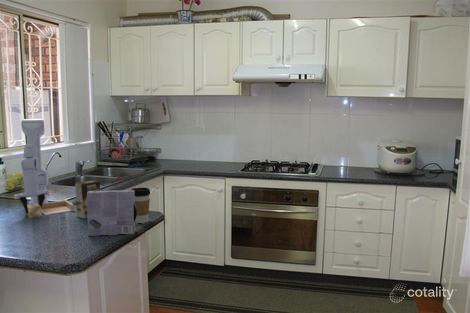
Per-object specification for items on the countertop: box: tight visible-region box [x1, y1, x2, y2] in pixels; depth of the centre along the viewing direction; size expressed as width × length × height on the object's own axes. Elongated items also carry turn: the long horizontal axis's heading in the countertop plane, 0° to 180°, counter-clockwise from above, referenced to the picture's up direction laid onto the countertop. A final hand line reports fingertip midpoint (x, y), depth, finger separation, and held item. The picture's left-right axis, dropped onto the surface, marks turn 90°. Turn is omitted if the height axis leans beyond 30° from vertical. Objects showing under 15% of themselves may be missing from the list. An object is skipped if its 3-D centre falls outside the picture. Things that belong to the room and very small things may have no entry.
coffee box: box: [74, 179, 101, 219], centre depth 190 cm, size 9×6×16 cm
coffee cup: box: [131, 187, 151, 224], centre depth 180 cm, size 8×8×15 cm
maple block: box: [25, 203, 43, 219], centre depth 192 cm, size 5×9×4 cm, turn 38°
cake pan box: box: [86, 189, 137, 237], centre depth 164 cm, size 19×5×18 cm, turn 99°
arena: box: [41, 199, 75, 216], centre depth 200 cm, size 12×13×3 cm
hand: (33, 211), depth 193 cm, fingers closed on maple block, 5 cm apart
